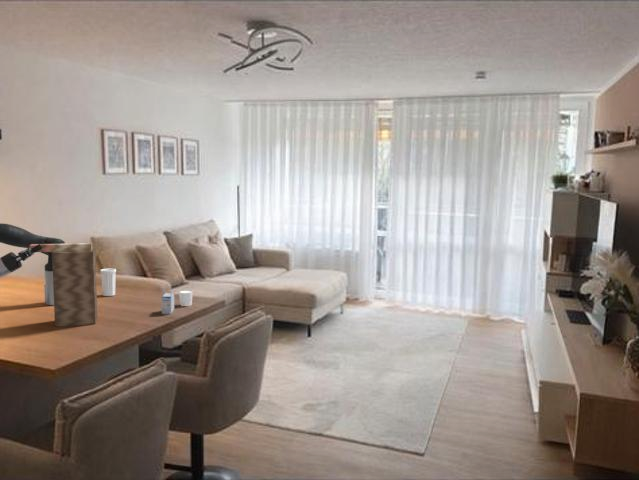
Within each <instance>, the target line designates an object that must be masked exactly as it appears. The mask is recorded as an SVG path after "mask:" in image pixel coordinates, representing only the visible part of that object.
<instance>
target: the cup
mask: <svg viewBox="0 0 639 480" xmlns="http://www.w3.org/2000/svg"><path fill="white" fill-rule="evenodd" d="M99 271H100V277H101V278H100V279H101V290H102V296H104V297H112V296H115V295H116V279H117V278H116V273H117V269H116V268H113V267H112V268H111V267H109V268H108V267H107V268H102V269H100V270H99Z"/></svg>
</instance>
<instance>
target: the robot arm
mask: <svg viewBox="0 0 639 480" xmlns="http://www.w3.org/2000/svg"><path fill="white" fill-rule="evenodd" d="M0 243H2V244H4V245H8V246H11V247H12V246H13V247H17V248H24V250H21V251H19V252H18V253H17V255H16V254H15V253H14V252H12V251H10V252H8V253H6V254H4V255H3V256H0V279H1V278H3V277H6V276H8V275H11V274H12V273H13V272H15V271H17V270H19V269H20V268H22V267H23V264H22V261H23V262H24V261H26V260H28V259H29V258H31V257H32V256H33V255H35V253H38V252H37V251H39V250H41V249H42V246H41V245H40V244H66V242H65V240H63V239H61V238H56V237H49V236H43V235H38V234H34V233H32V232H30V231H28V230H27V229H24V228H22V227H19V226H16V225H13V224H9V223H0ZM31 244H39V245H37V246H35V247H33V248H31V249H30V245H31ZM40 253H41V254H43V255H45V256H47V263H45V264H44V282H45V283H44V302H45V303H44V304H46V305H47V306H54V290H53V266H52V253H53V252H40Z"/></svg>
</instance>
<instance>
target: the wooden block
mask: <svg viewBox="0 0 639 480" xmlns="http://www.w3.org/2000/svg"><path fill="white" fill-rule="evenodd" d="M37 245H39V244H31V245H30V249H31V248H33V247H35V246H37ZM40 245H41V246H42V249H41V250H39V251H37V252H36V253H41V252H65V251H92V249H93V243H92V242H86V243H85V242H79V243H78V242H77V243H74V242H73V243H65V244H40Z"/></svg>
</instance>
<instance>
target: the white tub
mask: <svg viewBox="0 0 639 480" xmlns="http://www.w3.org/2000/svg"><path fill="white" fill-rule="evenodd" d="M178 295H179V296H178V297H179V304H180V305H181V306H180V305H179V306H180V307H183V306H188V307H191V306H192V305H193V291H192V290H180V291H178ZM190 305H191V306H190Z"/></svg>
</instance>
